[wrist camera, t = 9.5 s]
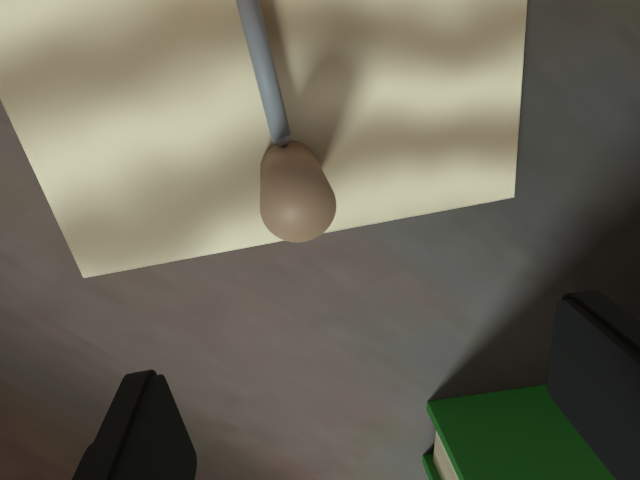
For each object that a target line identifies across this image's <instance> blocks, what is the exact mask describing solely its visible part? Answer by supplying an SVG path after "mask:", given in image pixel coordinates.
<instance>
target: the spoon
mask: <svg viewBox="0 0 640 480" xmlns="http://www.w3.org/2000/svg"><path fill="white" fill-rule="evenodd" d="M236 4H237V7H238V11H239V15H240V19H241V23H242V27H243V31H244V35H245V38H246V42H247V46H248V50H249V54H250V58H251V62H252V65H253V69H254V73H255V77H256V81H257V85H258V89H259V92H260V96H261V100H262V104H263V108H264V112H265V116H266V119H267V123H268V127H269V131H270V135H271V139H272V141H273V143H274V144H275V145H273V146H272V147H270V148H269V149H268V150H267V151H266V153H265V154H264V156H263V158H262V161H261V165H260V214H261V218H262V220H263V222H264V224H265V226H266V227H267V229H268V230H269V231H270V232H271V233H272V234H274V235H275V236H277V237H278V238H280V239H282V240H285V241H289V242H305V241H309V240H312V239H314V238H316V237H318V236H320V235H321V234H322V233H324V232H325V231H326V230H327V229H328V227H329V226H330V225H331V223H332V221H333V219H334V216H335V213H336V198H335V194H334V192H333V190H332V188H331V186H330V184H329V182H328V180H327V178H326V176H325V174H324V172H323V170H322V168H321V166H320V164H319V162H318V160H317V158H316V157H315V155H314V153H313V152H312V151H311V150H310V149H309V148H308V147H307V146H306V145H304V144H302V143H300V142H297V141H290V140H291V132H290V128H289V124H288V120H287V115H286V111H285V107H284V103H283V99H282V94H281V90H280V86H279V82H278V77H277V73H276V69H275V65H274V61H273V56H272V52H271V48H270V44H269V39H268V35H267V31H266V27H265V23H264V18H263V14H262V10H261V6H260V1H259V0H236Z"/></svg>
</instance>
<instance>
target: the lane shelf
mask: <svg viewBox="0 0 640 480" xmlns="http://www.w3.org/2000/svg"><path fill="white" fill-rule="evenodd" d="M259 1H260V6H261V10H262V14H263V18H264V23H265V27H266V31H267V35H268V39H269V44H270V48H271V52H272V56H273V61H274V65H275V69H276V73H277V77H278V82H279V86H280V90H281V94H282V99H283V103H284V107H285V111H286V115H287V120H288V124H289V128H290V132H291V140H290V141H297V142H300V143H302V144H304V145H306V146H307V147H308V148H309V149H310V150H311V151H312V152H313V153H314V155H315V157H316V158H317V160H318V162H319V164H320V166H321V168H322V170H323V172H324V174H325V176H326V178H327V180H328V182H329V184H330V186H331V188H332V190H333V192H334V194H335V198H336V213H335V216H334V219H333V221H332V223H331V225H330V226H329V227H328V229H327V230H326V231H325V232H324V233H327V232H332V231H338V230H343V229H348V228H354V227H359V226H364V225H370V224H375V223H380V222H386V221H391V220H396V219H402V218H407V217H412V216H417V215H423V214H428V213H433V212H439V211H444V210H449V209H455V208H460V207H465V206H471V205H476V204H481V203H487V202H492V201H497V200H503V199H508V198H513V197H514V192H515V177H516V162H517V147H518V132H519V117H520V103H521V88H522V73H523V58H524V43H525V28H526V13H527V0H259ZM0 99H1V101H2V103H3V105H4V108H5V110H6V112H7V114H8V116H9V118H10V121H11V123H12V125H13V127H14V129H15V131H16V133H17V136H18V138H19V140H20V142H21V144H22V146H23V149H24V151H25V153H26V155H27V157H28V159H29V161H30V164H31V166H32V168H33V170H34V172H35V174H36V177H37V179H38V181H39V183H40V185H41V187H42V190H43V192H44V194H45V196H46V198H47V200H48V202H49V205H50V207H51V209H52V211H53V213H54V215H55V218H56V220H57V222H58V224H59V226H60V228H61V230H62V233H63V235H64V237H65V239H66V241H67V243H68V246H69V248H70V250H71V252H72V254H73V256H74V258H75V261H76V263H77V265H78V267H79V269H80V271H81V274H82V276H83V278H87V277H92V276H98V275H103V274H108V273H114V272H119V271H124V270H130V269H135V268H140V267H146V266H151V265H156V264H162V263H167V262H172V261H178V260H183V259H188V258H194V257H199V256H204V255H210V254H215V253H220V252H226V251H231V250H236V249H242V248H247V247H252V246H258V245H263V244H268V243H274V242H279V241H284V240H282V239H280V238H278V237H277V236H275V235H274V234H272V233H271V232H270V231H269V230H268V229H267V227H266V226H265V224H264V222H263V220H262V218H261V214H260V165H261V161H262V158H263V156H264V154H265V153H266V151H267V150H268V149H269V148H270V147H272V146H273V145H275V144H274V143H273V141H272V139H271V135H270V131H269V127H268V123H267V119H266V116H265V112H264V108H263V104H262V100H261V96H260V92H259V89H258V85H257V81H256V77H255V73H254V69H253V65H252V62H251V58H250V54H249V50H248V46H247V42H246V38H245V35H244V31H243V27H242V23H241V19H240V15H239V11H238V7H237V4H236V0H0Z"/></svg>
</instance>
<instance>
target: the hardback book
mask: <svg viewBox="0 0 640 480" xmlns="http://www.w3.org/2000/svg"><path fill="white" fill-rule="evenodd" d="M427 411H428V413H429V416H430V418H431V420H432V422H433V424H434V426H435V429H436V436H435V446H434V453H431V454H425V455H423V460H422V462H423V465H424V467H425V470H426V472H427V475H428V478H429V480H616V479H615V478H614V477H613V475H612V474H611V473H610V472H609V470H608V469H607V468H606V467H605V465H604V464H603V463H602V462H601V460H600V459H599V458H598V457H597V455H596V454H595V453H594V452H593V450H592V449H591V448H590V447H589V445H588V444H587V443H586V442H585V440H584V439H583V438H582V437H581V435H580V434H579V433H578V431H577V430H576V429H575V428H574V426H573V425H572V424H571V423H570V421H569V420H568V419H567V418H566V416H565V415H564V414H563V413H562V411H561V410H560V409H559V408H558V406H557V405H556V404H555V403H554V401H553V400H552V399H551V397H550V395H549V392H548V389H547V384H546V385H539V386H532V387H525V388H518V389H511V390H504V391H497V392H490V393H483V394H476V395H469V396H462V397H455V398H448V399H441V400H434V401H427Z"/></svg>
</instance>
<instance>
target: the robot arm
mask: <svg viewBox="0 0 640 480" xmlns="http://www.w3.org/2000/svg"><path fill="white" fill-rule="evenodd" d="M547 389H548V392H549V395H550V397H551V399H552V400H553V401H554V403H555V404H556V405H557V406H558V408H559V409H560V410H561V411H562V413H563V414H564V415H565V416H566V418H567V419H568V420H569V421H570V423H571V424H572V425H573V426H574V428H575V429H576V430H577V431H578V433H579V434H580V435H581V437H582V438H583V439H584V440H585V442H586V443H587V444H588V445H589V447H590V448H591V449H592V450H593V452H594V453H595V454H596V455H597V457H598V458H599V459H600V460H601V462H602V463H603V464H604V465H605V467H606V468H607V469H608V470H609V472H610V473H611V474H612V475H613V477H614V478H615V479H616V480H640V322H639V321H637V320H636V319H635V318H633V317H632V316H631V315H629V314H628V313H627V312H625V311H624V310H623V309H621V308H620V307H618V306H617V305H616V304H614V303H613V302H612V301H610V300H609V299H608V298H606V297H605V296H604V295H602V294H601V293H600V292H598V291H596V290H595V289H586V290H580V291H575V292H570V293H566V294H565V295H564V296H563V299H562V300H561V301H559V302H558V304H557V309H556V317H555V325H554V333H553V340H552V348H551V356H550V364H549V372H548V379H547ZM196 467H197V457H196V452H195V449H194V447H193V445H192V442H191V440H190V437H189V435H188V432H187V430H186V427H185V425H184V423H183V420H182V418H181V415H180V413H179V410H178V408H177V406H176V403H175V401H174V398H173V396H172V393H171V391H170V389H169V386H168V384H167V381H166V379H165V377H164V376H163V375H161V374H160V375H157V374H156V372H155V371H154V370H146V371H141V372H136V373H130V374H127V375H125V376H124V378H123V379H122V382H121V384H120V386H119V388H118V390H117V393H116V395H115V397H114V399H113V401H112V403H111V406H110V408H109V410H108V412H107V414H106V416H105V419H104V421H103V423H102V425H101V427H100V430H99V432H98V434H97V436H96V438H95V440H94V442H93V443H92V444H91V445H90V446H89V447H88V448H87V450H86V451H85V453H84V455H83V457H82V459H81V461H80V463H79V465H78V468H77V470H76V472H75V474H74V476H73V478H72V480H194V479H195V474H196Z"/></svg>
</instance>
